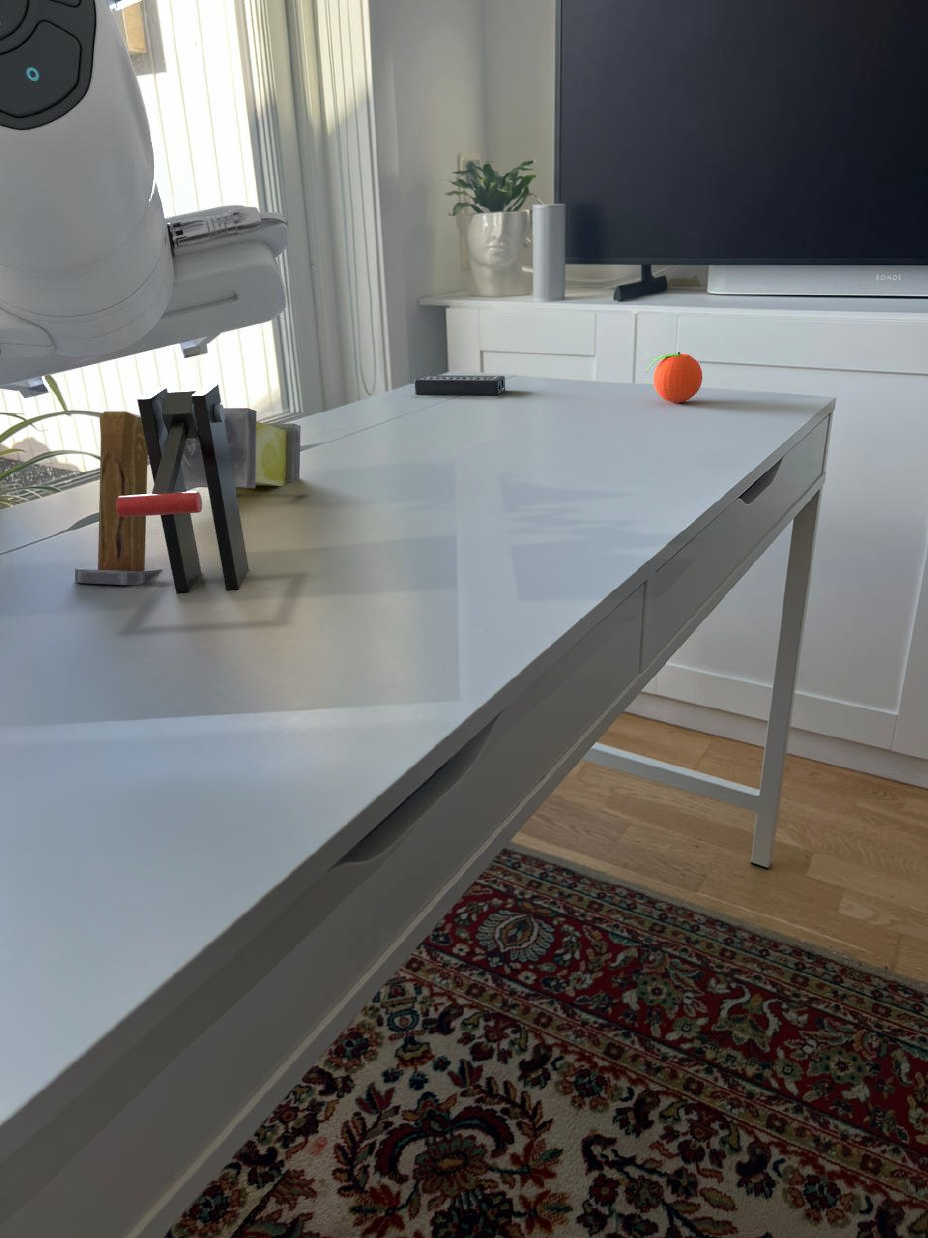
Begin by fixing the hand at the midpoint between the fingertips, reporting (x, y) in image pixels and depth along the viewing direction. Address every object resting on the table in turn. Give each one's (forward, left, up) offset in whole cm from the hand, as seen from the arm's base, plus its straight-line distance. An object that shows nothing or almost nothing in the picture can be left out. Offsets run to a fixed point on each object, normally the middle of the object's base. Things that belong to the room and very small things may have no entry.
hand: (114, 363), depth 56 cm
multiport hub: (+21, +96, -21) cm, 101 cm away
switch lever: (0, +9, -9) cm, 13 cm away
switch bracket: (0, +13, -21) cm, 25 cm away
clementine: (+52, +78, -21) cm, 96 cm away
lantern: (-5, +30, -21) cm, 37 cm away
